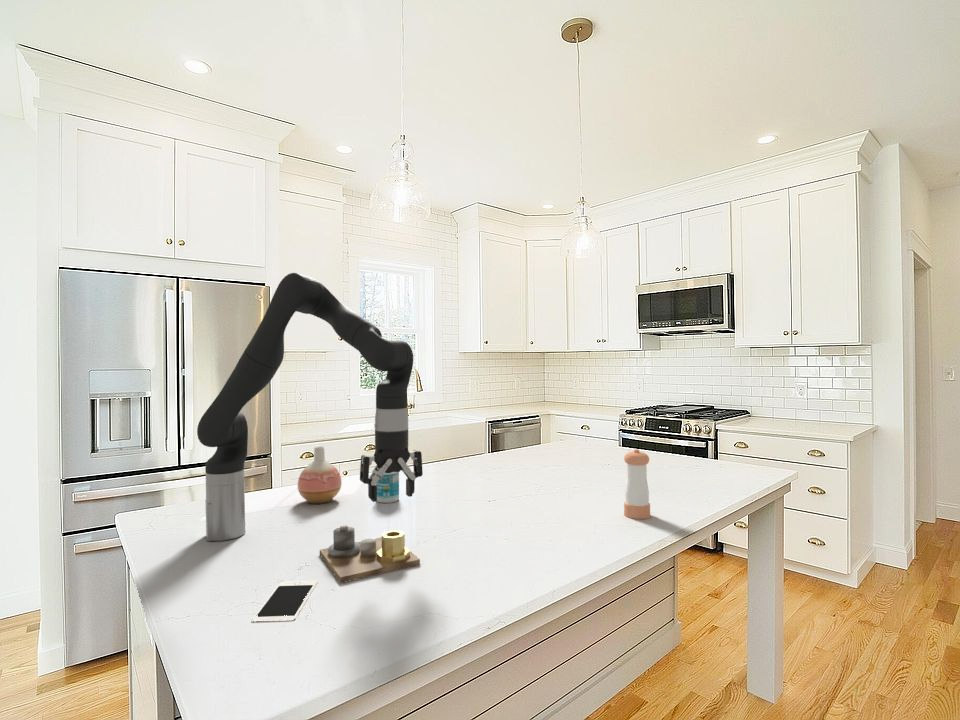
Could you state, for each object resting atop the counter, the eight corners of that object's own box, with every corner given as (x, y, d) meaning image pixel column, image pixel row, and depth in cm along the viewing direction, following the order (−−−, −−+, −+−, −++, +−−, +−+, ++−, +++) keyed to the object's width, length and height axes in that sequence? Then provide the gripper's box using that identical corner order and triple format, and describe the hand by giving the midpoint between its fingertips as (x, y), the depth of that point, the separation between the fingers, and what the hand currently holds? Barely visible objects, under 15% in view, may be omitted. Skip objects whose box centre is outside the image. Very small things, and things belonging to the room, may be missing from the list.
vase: (314, 510, 160) (313, 452, 160) (289, 502, 168) (288, 448, 168) (350, 499, 171) (349, 446, 171) (324, 493, 179) (324, 442, 179)
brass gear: (384, 565, 115) (383, 541, 115) (373, 554, 121) (373, 532, 121) (413, 558, 118) (413, 535, 118) (401, 548, 124) (401, 527, 124)
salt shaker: (651, 519, 147) (651, 452, 147) (625, 518, 149) (624, 451, 148) (648, 512, 154) (648, 447, 154) (623, 510, 156) (622, 446, 156)
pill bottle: (371, 502, 168) (370, 460, 168) (385, 496, 175) (385, 456, 175) (389, 504, 165) (389, 462, 165) (403, 498, 171) (403, 457, 171)
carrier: (340, 583, 109) (340, 548, 109) (319, 554, 124) (319, 524, 124) (420, 564, 118) (419, 532, 118) (391, 540, 134) (391, 512, 133)
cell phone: (318, 583, 110) (318, 580, 110) (294, 623, 94) (294, 619, 94) (280, 584, 109) (280, 581, 109) (250, 624, 93) (250, 621, 93)
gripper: (366, 432, 112) (366, 507, 113) (427, 427, 119) (427, 498, 120) (356, 427, 119) (356, 498, 119) (414, 423, 126) (414, 490, 126)
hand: (391, 498), depth 119 cm, fingers open, 8 cm apart
